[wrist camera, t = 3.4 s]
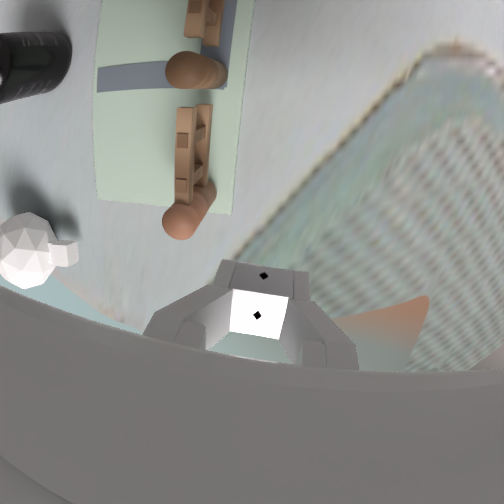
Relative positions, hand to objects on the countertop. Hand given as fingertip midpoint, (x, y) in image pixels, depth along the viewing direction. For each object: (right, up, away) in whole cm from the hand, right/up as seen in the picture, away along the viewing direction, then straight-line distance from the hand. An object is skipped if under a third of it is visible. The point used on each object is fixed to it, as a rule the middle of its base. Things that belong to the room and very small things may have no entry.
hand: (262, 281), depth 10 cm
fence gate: (-4, +9, +12) cm, 16 cm away
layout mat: (-8, +16, +10) cm, 20 cm away
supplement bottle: (-21, +20, +9) cm, 30 cm away
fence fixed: (-3, +19, +7) cm, 21 cm away
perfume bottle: (-25, +3, +20) cm, 32 cm away
